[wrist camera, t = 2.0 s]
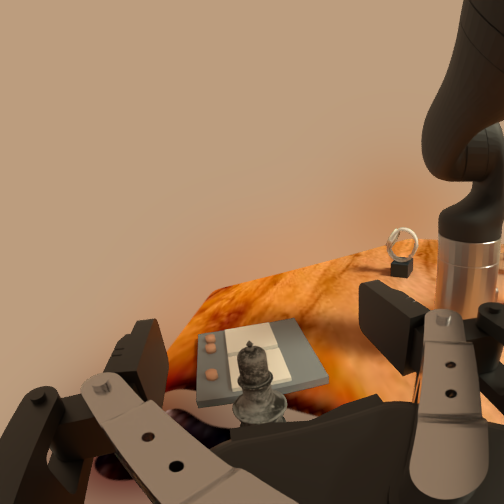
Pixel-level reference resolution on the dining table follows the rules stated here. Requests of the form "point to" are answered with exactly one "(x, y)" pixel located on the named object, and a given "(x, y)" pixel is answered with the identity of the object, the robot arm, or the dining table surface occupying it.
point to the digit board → (278, 359)
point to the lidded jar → (501, 279)
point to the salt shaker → (257, 389)
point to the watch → (401, 264)
